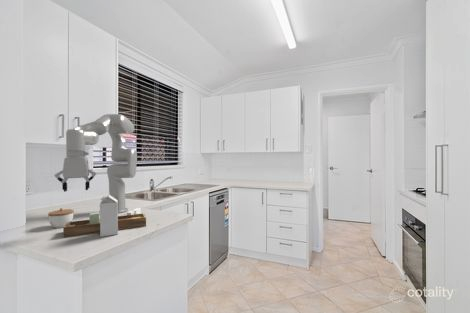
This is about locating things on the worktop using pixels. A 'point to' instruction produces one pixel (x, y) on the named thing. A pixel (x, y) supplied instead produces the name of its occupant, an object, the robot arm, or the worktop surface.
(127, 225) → the box
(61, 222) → the lidded jar
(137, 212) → the napkin holder
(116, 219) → the milk carton
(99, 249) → the worktop surface
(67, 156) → the robot arm
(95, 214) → the block
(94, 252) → the worktop surface
